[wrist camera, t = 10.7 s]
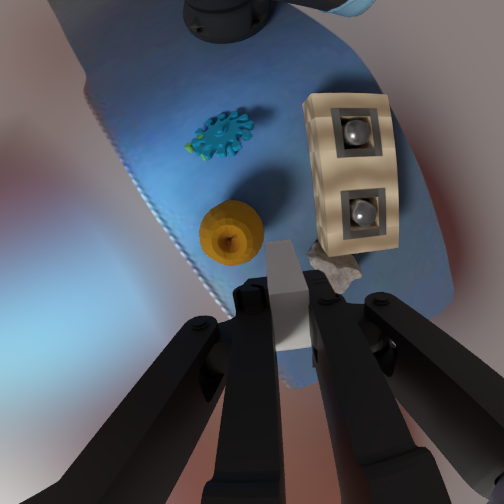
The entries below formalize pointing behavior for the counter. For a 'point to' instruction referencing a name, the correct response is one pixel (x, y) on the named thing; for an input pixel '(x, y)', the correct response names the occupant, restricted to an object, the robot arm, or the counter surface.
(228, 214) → the apple
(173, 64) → the counter surface
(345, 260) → the stone
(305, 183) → the counter surface
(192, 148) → the teal knobby branched piece
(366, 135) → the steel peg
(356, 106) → the socket block
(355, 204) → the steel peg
